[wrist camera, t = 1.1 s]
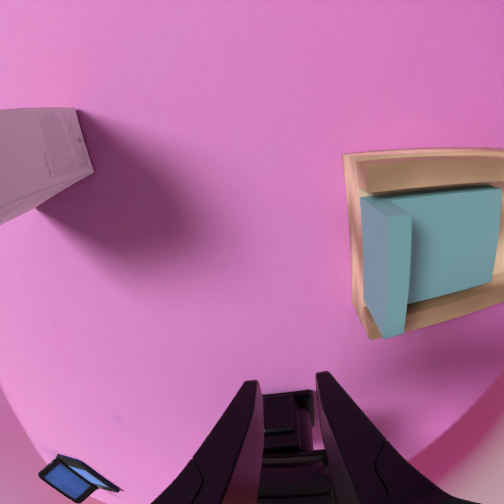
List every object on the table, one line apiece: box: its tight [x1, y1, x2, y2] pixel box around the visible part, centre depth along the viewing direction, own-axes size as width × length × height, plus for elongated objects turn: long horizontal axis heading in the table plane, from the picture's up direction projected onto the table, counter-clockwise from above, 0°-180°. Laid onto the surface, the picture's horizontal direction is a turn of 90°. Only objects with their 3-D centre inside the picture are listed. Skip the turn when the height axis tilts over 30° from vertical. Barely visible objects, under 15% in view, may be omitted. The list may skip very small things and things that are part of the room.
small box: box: [0, 107, 94, 225], centre depth 13 cm, size 8×6×10 cm
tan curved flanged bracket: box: [342, 148, 504, 340], centre depth 16 cm, size 11×16×5 cm
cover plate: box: [360, 184, 502, 339], centre depth 14 cm, size 7×10×4 cm, turn 101°
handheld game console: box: [38, 454, 120, 503], centre depth 40 cm, size 16×13×9 cm
